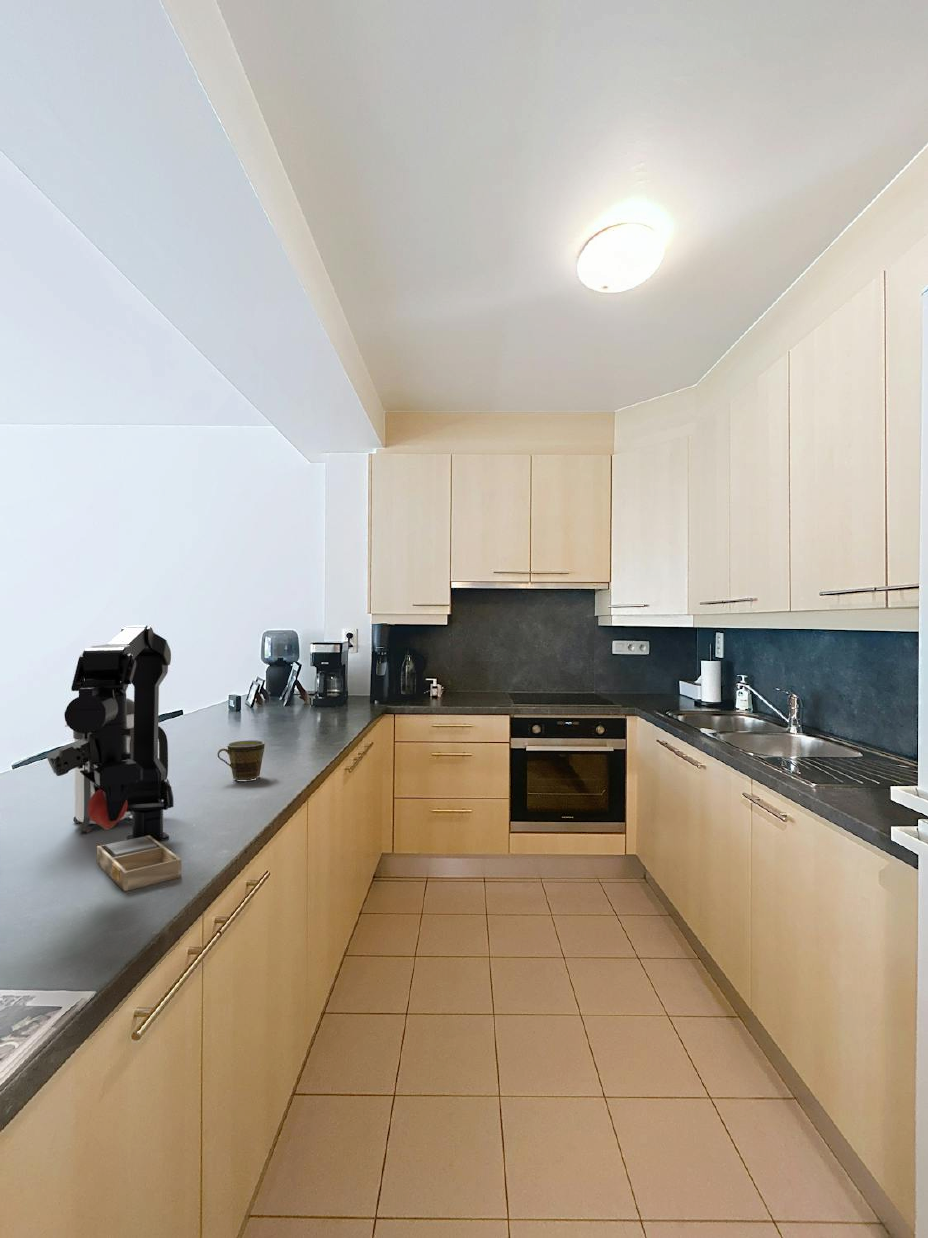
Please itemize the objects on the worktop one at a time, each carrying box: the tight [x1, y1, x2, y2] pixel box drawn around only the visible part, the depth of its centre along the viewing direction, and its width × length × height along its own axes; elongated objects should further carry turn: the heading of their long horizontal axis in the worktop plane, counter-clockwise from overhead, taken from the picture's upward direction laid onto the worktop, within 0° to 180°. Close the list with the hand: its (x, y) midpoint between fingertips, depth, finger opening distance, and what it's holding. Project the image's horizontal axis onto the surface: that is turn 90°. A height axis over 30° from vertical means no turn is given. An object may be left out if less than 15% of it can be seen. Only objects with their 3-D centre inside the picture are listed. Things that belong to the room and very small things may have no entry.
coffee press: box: [64, 697, 169, 834], centre depth 145 cm, size 17×16×30 cm
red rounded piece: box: [88, 789, 128, 830], centre depth 109 cm, size 6×6×8 cm
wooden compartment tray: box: [96, 835, 182, 892], centre depth 116 cm, size 18×9×3 cm, turn 42°
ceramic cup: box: [216, 739, 266, 780], centre depth 183 cm, size 13×10×10 cm
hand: (108, 816), depth 109 cm, fingers closed on red rounded piece, 6 cm apart
